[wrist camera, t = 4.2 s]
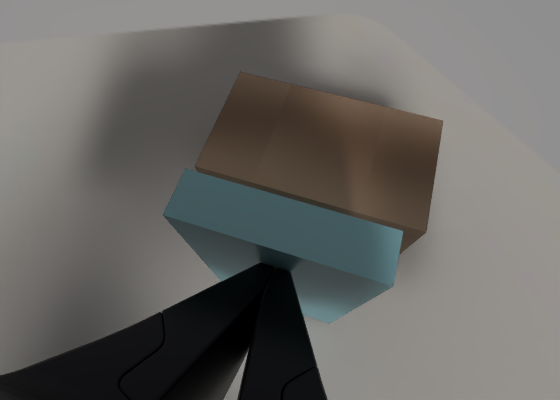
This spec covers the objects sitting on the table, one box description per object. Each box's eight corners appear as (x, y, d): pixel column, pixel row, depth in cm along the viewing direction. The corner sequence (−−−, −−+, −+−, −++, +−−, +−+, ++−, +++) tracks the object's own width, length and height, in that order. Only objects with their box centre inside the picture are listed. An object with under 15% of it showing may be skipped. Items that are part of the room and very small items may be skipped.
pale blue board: (328, 324, 16) (393, 286, 7) (229, 291, 17) (162, 214, 7) (357, 208, 18) (434, 60, 9) (269, 183, 19) (257, 22, 10)
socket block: (384, 266, 17) (426, 232, 12) (218, 216, 18) (194, 166, 13) (401, 181, 19) (443, 120, 14) (250, 140, 20) (240, 71, 15)
